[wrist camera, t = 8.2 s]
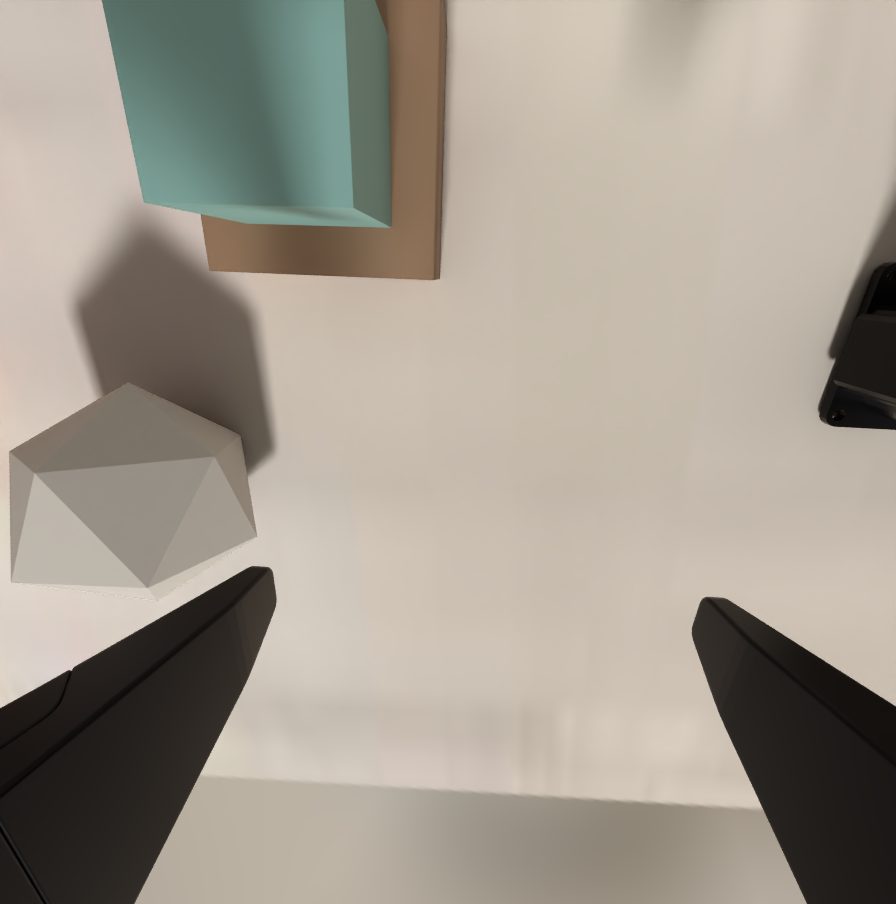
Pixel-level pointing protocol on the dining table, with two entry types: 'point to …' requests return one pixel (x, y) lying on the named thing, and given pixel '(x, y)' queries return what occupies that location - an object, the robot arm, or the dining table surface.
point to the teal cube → (258, 107)
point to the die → (127, 498)
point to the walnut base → (412, 177)
